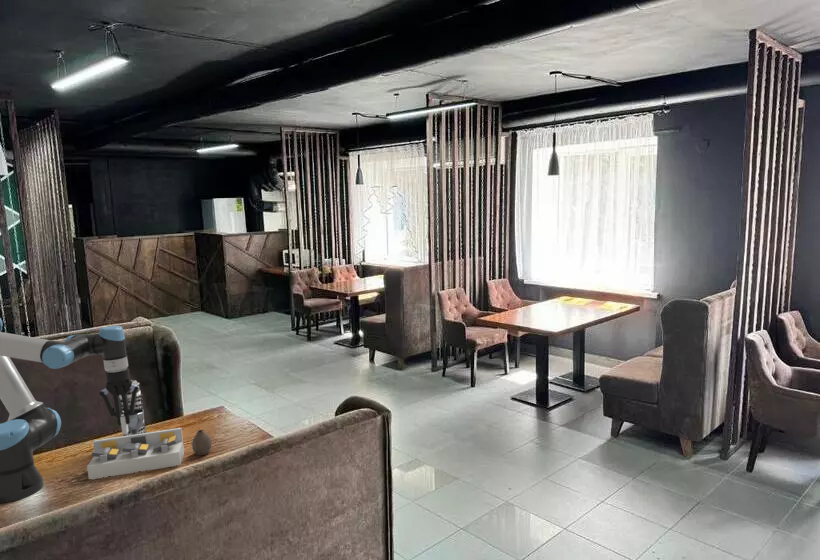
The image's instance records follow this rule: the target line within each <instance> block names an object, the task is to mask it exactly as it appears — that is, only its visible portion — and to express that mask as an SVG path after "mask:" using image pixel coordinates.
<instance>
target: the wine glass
mask: <svg viewBox="0 0 820 560" xmlns="http://www.w3.org/2000/svg"><path fill="white" fill-rule="evenodd" d="M143 410H144V408H143V409H135V410H134V412H133V413H131V414H130V423H129V424H128V430H129V432H130V433H131V434H132V435H135V434H137V433H138V431H139V429H140V428H141V427H142V425H143V421H144V422H145V415H144V412H143ZM123 414H124V412H122V414H121V415H123Z"/></svg>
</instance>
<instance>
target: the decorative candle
mask: <svg viewBox="0 0 820 560" xmlns="http://www.w3.org/2000/svg"><path fill="white" fill-rule="evenodd" d="M130 380H131V381H132V384H134V385H139V386H140V382H138V381H137V380H135V379H130ZM131 389H132V388H131V387H130V389H129V391H128V392H127V398H128V405H129V410H130V405H131V397H132V392H133V391H132V390H131ZM143 396H144V395H143V393H141V389H140V388H139V389H138V391H137V396H136V403H135V409H143V412H144V408H145V407H144V402H142V401H143V400H144V398H143ZM119 397H120V405H121V412H124V409H123V401H122V397H121V395H120V396H119ZM146 428H147V426H146V421H145V420H144V421H143V425H142V427H141V428H140V429H139V431H138V433H137V434H142V433H147V429H146ZM128 435H132V434H131V433H130V432H129V431H128V433H127V434H123V435H122V436H128Z"/></svg>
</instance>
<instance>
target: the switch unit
mask: <svg viewBox="0 0 820 560" xmlns="http://www.w3.org/2000/svg"><path fill="white" fill-rule="evenodd" d="M182 429H183V427H177V428H171V429H170V428H169V429H163V430H157V431H151V432H146V433H142V434H135V435H128V436H123V435H122V436H116V437H109V438H102V439H97V440H96V439H95V440H93V443H92V444H93V450H94V449H95V448H96V447H99V448H107V447H109V448H110V449H119V450H120V452H119V454H118V456H117V458H116V459H115V458H107V454H105V455H100V457H96V456H92V459H90V462H89V463H88V464H87V466H86V469H87V474H88V475H87V477H88V480H89V479H92V480H96V479H97V478H98V479H104V478H109V477H108V476H111V477H116V475H117V476H121V475H128V474H134V472H135V473H139V472H138V471H141V472H147V471H151V470H158V469H159V470H160V469H165V468H170V467H171V468H172V467H177V466H181V464H182V462H183V459H184V454H185V448H184V440H183V439H184V438H183V430H182ZM175 435H177V437H178V440H177V443H176V444H173V445H171V446H168V447H167V445H163V446H161V450H159V451H156V452H154V451H153V448H154V446H155V444H156V443H159V442H161V441H164V440H165V439H166V438H167V439H169V438H170V437H173V436H175ZM126 443H133V444H136V443H140V444H149V449H148V451H147V453H138V450H131V452H122V451H123V447H124V446H125V444H126ZM176 465H177V466H176ZM146 470H147V471H146ZM103 477H104V478H103Z"/></svg>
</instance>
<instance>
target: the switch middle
mask: <svg viewBox="0 0 820 560" xmlns="http://www.w3.org/2000/svg"><path fill="white" fill-rule="evenodd" d="M148 449H149V444H140V443H136V444H133V443H126V444H125V446H124V447H123V451H122V452H131V450H138V453H147V451H148Z"/></svg>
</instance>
